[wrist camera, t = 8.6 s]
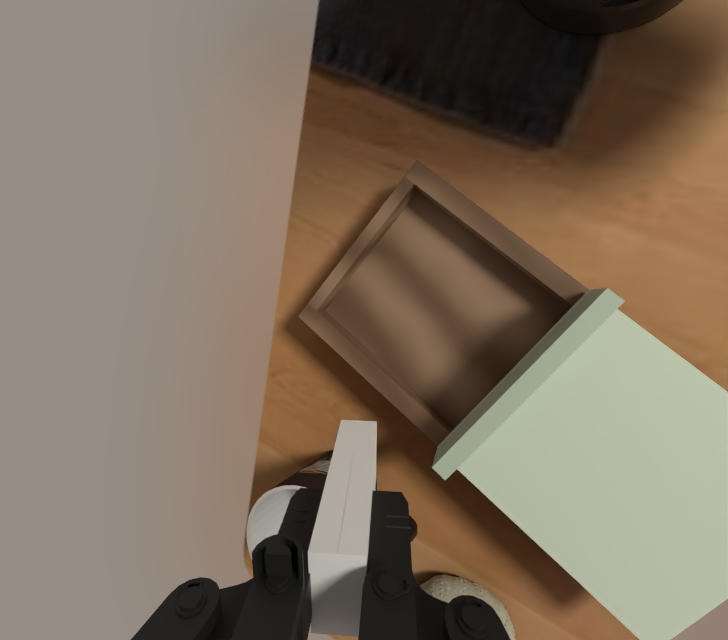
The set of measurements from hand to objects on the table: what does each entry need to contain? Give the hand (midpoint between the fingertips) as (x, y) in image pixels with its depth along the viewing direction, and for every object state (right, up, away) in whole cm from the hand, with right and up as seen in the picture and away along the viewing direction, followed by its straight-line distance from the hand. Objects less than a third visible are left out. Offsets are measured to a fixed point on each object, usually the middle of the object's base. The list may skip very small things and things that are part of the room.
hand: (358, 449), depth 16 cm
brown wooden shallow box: (+12, +2, +16) cm, 20 cm away
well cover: (+18, -5, +10) cm, 21 cm away
